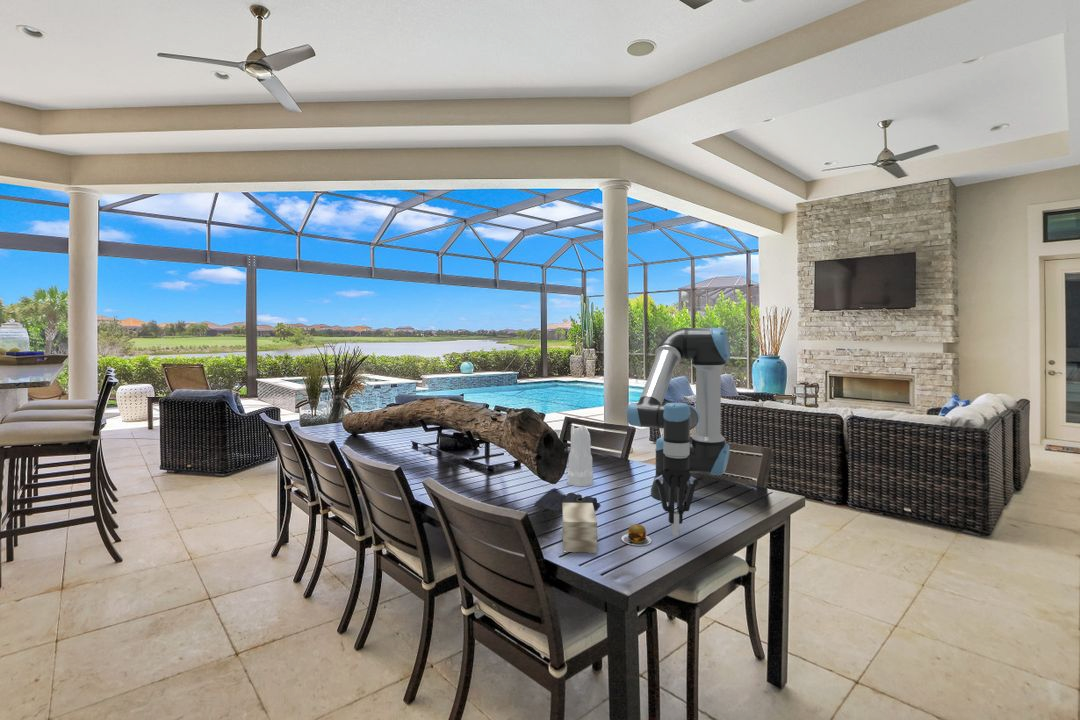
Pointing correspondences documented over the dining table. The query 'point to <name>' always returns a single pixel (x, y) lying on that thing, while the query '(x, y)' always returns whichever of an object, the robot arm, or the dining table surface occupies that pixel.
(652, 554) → the dining table surface
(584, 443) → the decorative vase
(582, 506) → the beige paper bag
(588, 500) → the dark slate chunk
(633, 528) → the hamburger
